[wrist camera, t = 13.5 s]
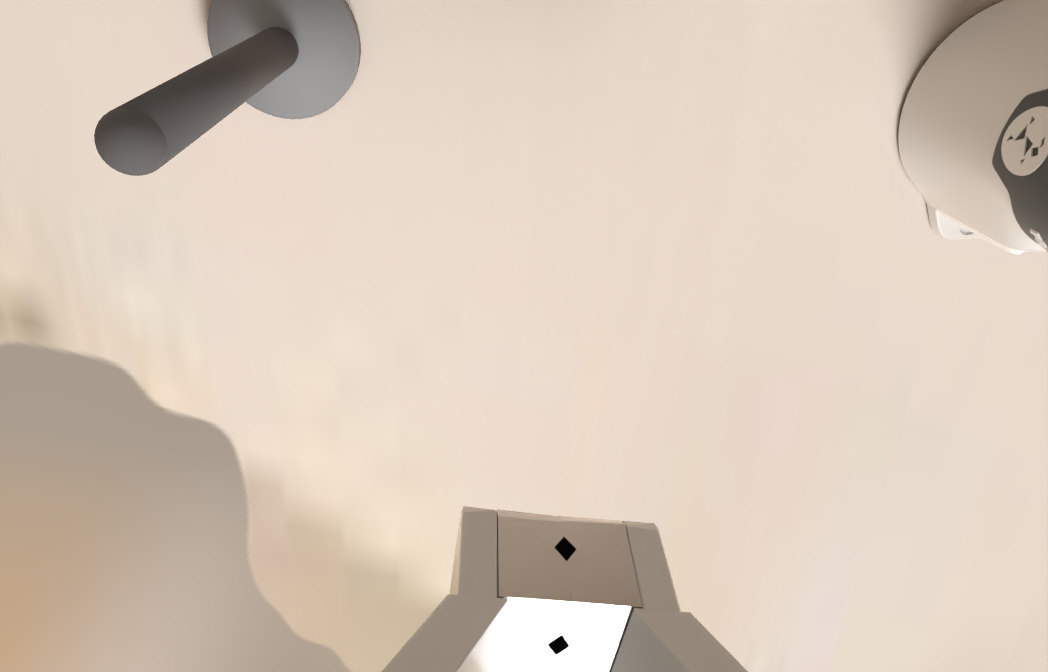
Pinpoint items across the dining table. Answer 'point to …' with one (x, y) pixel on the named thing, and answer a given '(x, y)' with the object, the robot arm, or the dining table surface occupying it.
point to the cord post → (239, 78)
